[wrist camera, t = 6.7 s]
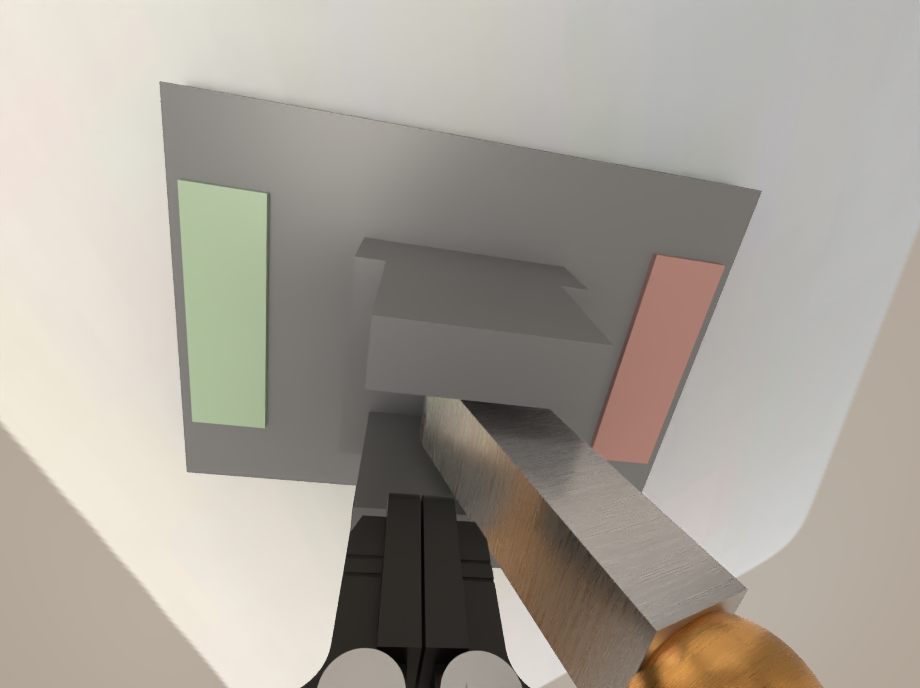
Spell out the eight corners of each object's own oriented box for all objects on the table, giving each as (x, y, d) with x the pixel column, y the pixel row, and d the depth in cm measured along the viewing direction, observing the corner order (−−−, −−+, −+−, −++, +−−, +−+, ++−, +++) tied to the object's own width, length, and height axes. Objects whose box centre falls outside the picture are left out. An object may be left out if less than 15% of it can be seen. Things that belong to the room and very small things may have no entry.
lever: (408, 347, 16) (814, 838, 5) (493, 342, 17) (936, 722, 7) (397, 430, 17) (709, 955, 7) (476, 419, 18) (831, 835, 8)
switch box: (186, 85, 18) (-61, 42, 9) (731, 185, 21) (976, 230, 12) (204, 445, 24) (73, 641, 15) (621, 481, 27) (723, 662, 18)
